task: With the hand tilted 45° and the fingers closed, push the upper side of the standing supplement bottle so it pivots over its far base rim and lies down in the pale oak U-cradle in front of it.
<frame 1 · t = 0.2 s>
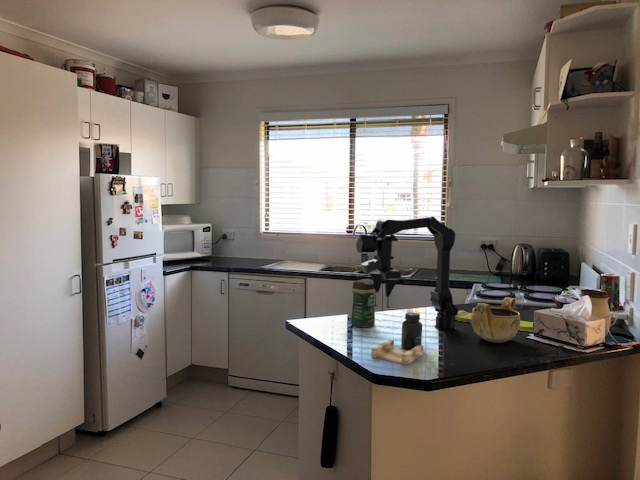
hand: (382, 294, 196), 15 cm above the countertop, tool pointing down, fingers open, 9 cm apart
dish towel: (496, 324, 217), on the countertop
coffee jar: (363, 325, 208), on the countertop
supplement bottle: (411, 348, 178), on the countertop
ceramic bowl: (494, 341, 190), on the countertop
cradle: (397, 356, 169), on the countertop
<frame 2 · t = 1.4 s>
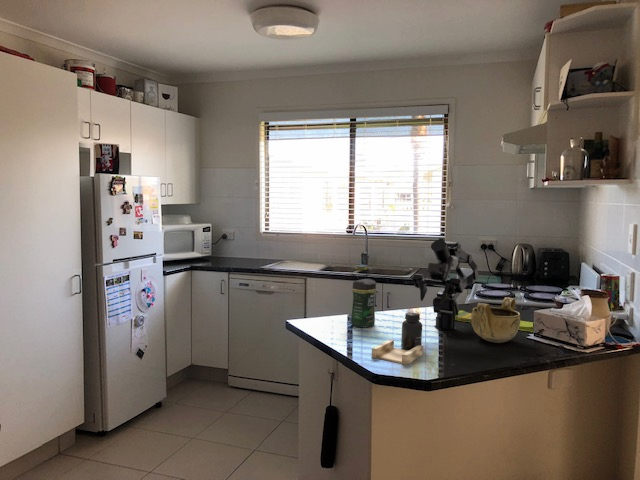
hand: (430, 301, 191), 13 cm above the countertop, tool tilted 45°, fingers open, 7 cm apart
nothing on the countertop moved.
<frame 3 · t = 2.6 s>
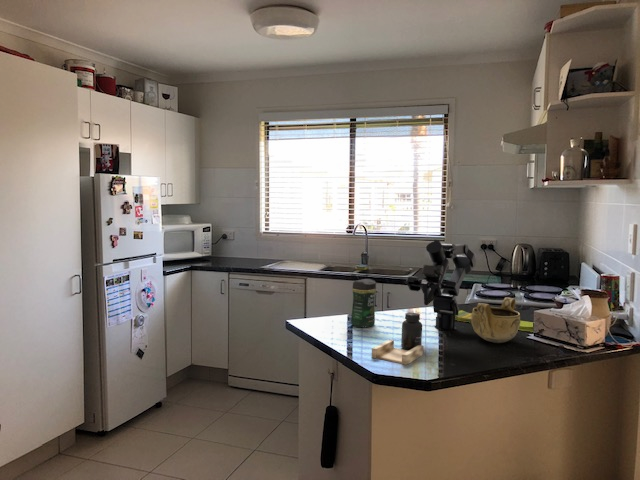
hand: (425, 304, 186), 13 cm above the countertop, tool tilted 45°, fingers closed
nothing on the countertop moved.
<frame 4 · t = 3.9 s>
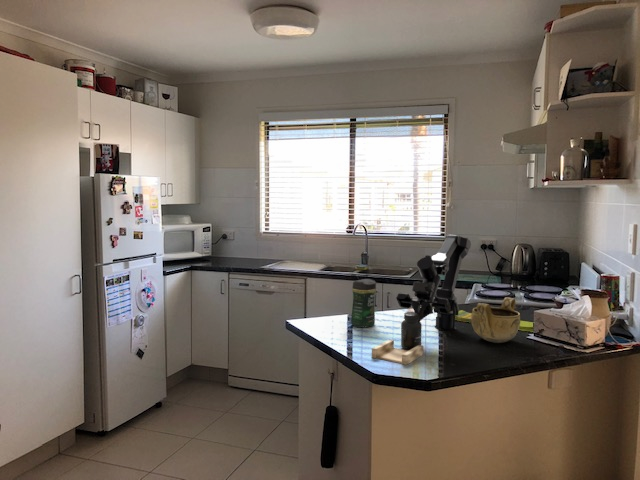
hand: (415, 322, 180), 8 cm above the countertop, tool tilted 45°, fingers closed, pressing on supplement bottle
supplement bottle: (411, 348, 178), on the countertop, touching gripper
everything else where it was.
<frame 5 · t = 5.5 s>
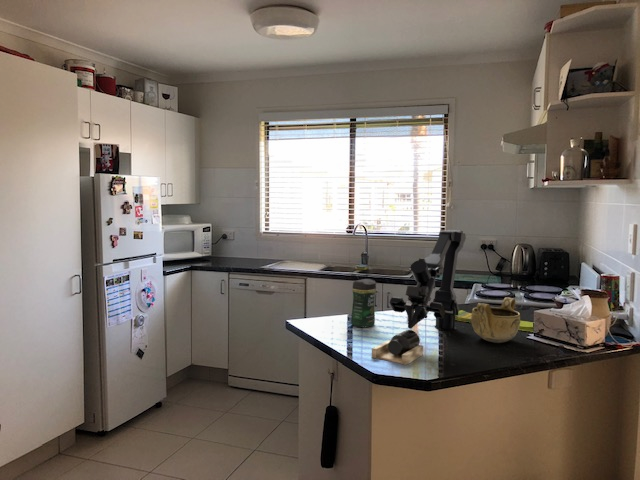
hand: (409, 327, 175), 8 cm above the countertop, tool tilted 45°, fingers closed
supplement bottle: (411, 339, 174), point 4 cm above the countertop, touching cradle
everything else where it was.
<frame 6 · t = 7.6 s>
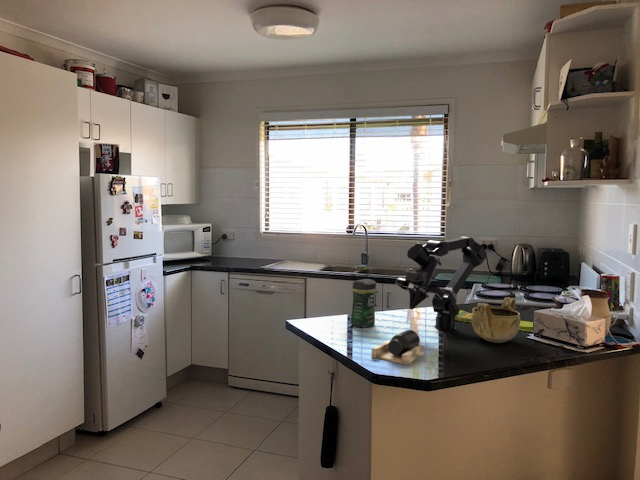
hand: (410, 309, 192), 10 cm above the countertop, tool tilted 30°, fingers closed
nothing on the countertop moved.
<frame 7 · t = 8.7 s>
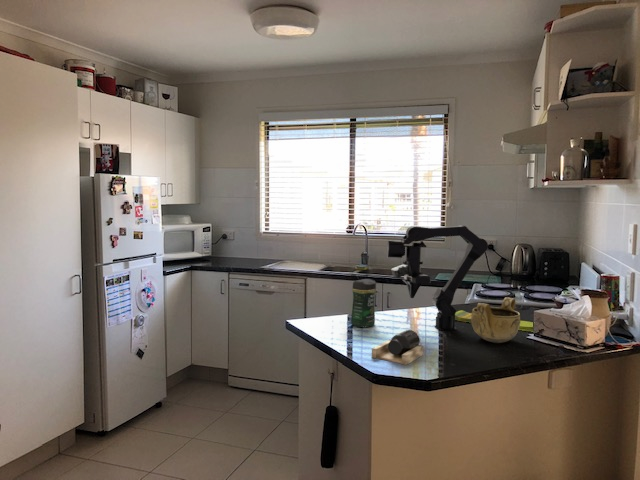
hand: (411, 297, 204), 12 cm above the countertop, tool pointing down, fingers closed
nothing on the countertop moved.
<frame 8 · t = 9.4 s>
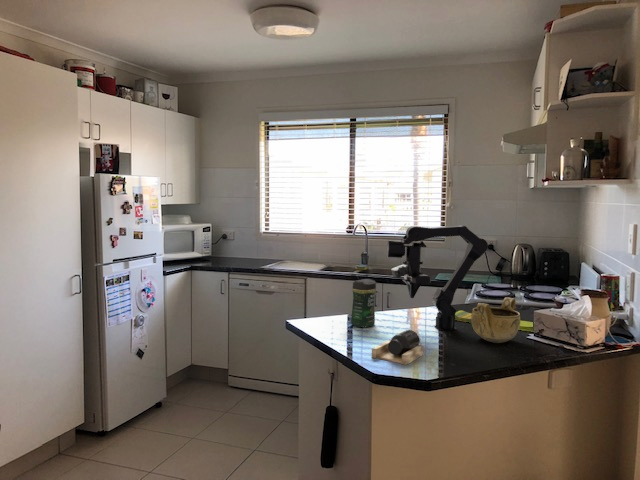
hand: (411, 297, 204), 12 cm above the countertop, tool pointing down, fingers closed
nothing on the countertop moved.
at the end: supplement bottle tilted 91°; supplement bottle inside the target area on the cradle (3.4 cm from its centre), point 4.1 cm above the cradle's base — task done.
